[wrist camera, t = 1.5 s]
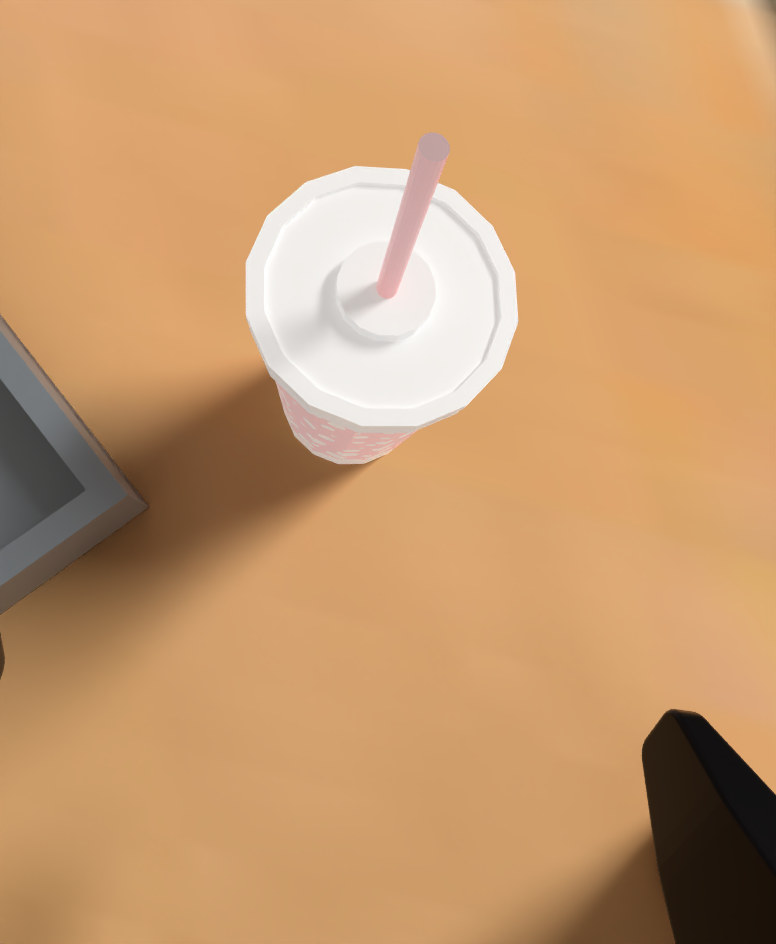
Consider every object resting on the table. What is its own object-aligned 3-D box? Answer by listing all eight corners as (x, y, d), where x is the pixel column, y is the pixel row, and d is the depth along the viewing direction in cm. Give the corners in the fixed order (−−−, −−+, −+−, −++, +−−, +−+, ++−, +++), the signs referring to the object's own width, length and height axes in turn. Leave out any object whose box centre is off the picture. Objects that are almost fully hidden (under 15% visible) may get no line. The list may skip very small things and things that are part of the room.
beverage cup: (369, 287, 24) (474, -95, 11) (467, 424, 24) (706, 214, 10) (225, 375, 23) (131, 72, 9) (327, 521, 23) (385, 431, 9)
